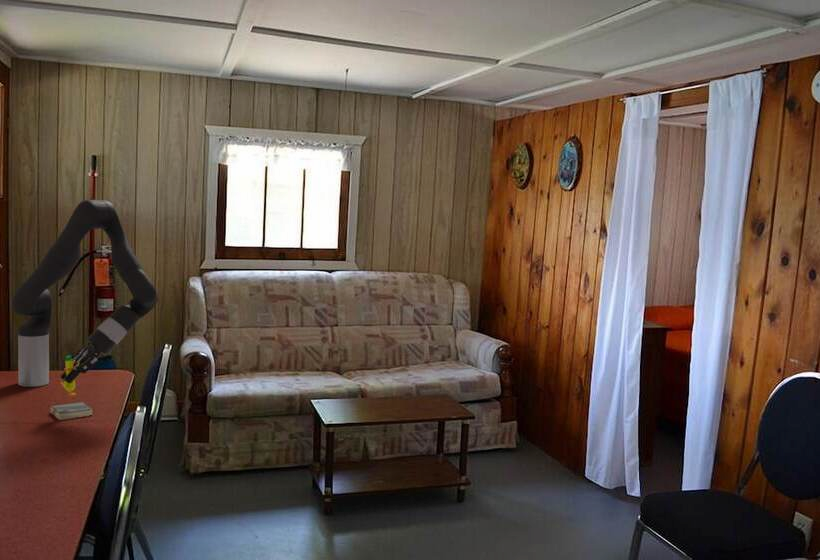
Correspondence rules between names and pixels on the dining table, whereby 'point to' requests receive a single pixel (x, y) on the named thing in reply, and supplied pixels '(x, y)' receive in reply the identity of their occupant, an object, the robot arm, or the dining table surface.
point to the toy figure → (68, 369)
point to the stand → (71, 411)
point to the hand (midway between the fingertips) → (64, 380)
